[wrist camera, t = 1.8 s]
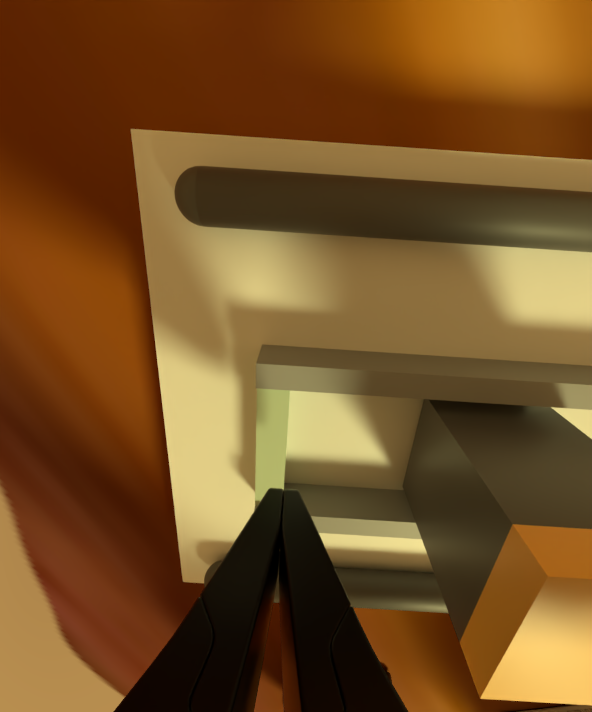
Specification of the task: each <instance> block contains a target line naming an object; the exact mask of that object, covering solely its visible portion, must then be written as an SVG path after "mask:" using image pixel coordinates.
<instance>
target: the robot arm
mask: <svg viewBox="0 0 592 712" xmlns="http://www.w3.org/2000/svg"><path fill="white" fill-rule="evenodd" d="M283 496H284V497H283ZM279 556H280V558H279ZM278 569H279V607H280V632H281V656H282V681H283V705H284V712H408V710H407V709H406V707H405V705H404V703H403V702H402V700H401V698H400V697H399V695H398V693H397V691H396V690H395V688H394V686H393V685H392V680H391V675H390V673H389V672H386V671H384V669H383V667H382V665H381V663H380V662H379V660H378V658H377V656H376V654H375V652H374V651H373V649H372V647H371V645H370V643H369V641H368V639H367V637H366V635H365V633H364V630H363V628H362V626H361V624H360V622H359V620H358V618H357V616H356V613H355V611H354V609H353V607H350V606H351V603H350V601H349V598H348V596H347V594H346V592H345V590H344V588H343V585H342V583H341V581H340V579H339V577H338V574H337V572H336V570H335V568H334V566H333V563H332V561H331V559H330V557H329V555H328V552H327V550H326V548H325V546H324V544H323V541H322V539H321V537H320V535H319V533H318V530H317V528H316V526H315V524H314V522H313V520H312V517H311V515H310V513H309V511H308V509H307V506H306V504H305V502H304V500H303V498H302V495H301V493H300V491H299V490H297V489H285V490H283V489H281V488H269V489H268V490H267V492H266V493H265V495H264V497H263V498H262V500H261V501H260V503H259V504H258V506H257V507H256V509H255V510H254V512H253V514H252V515H251V517H250V518H249V520H248V521H247V523H246V524H245V526H244V528H243V529H242V531H241V532H240V534H239V535H238V537H237V538H236V540H235V542H234V543H233V545H232V546H231V548H230V549H229V551H228V552H227V554H226V556H225V557H224V559H223V560H222V562H221V563H220V565H219V566H218V568H217V569H216V571H215V573H214V574H213V576H212V577H211V579H210V580H209V582H208V583H207V585H206V587H205V588H204V590H203V591H202V593H201V595H200V597H199V598H198V599H197V600H196V602H195V603H194V605H193V606H192V608H191V610H190V611H189V613H188V614H187V616H186V617H185V619H184V620H183V622H182V623H181V624H180V626H179V627H178V629H177V630H176V632H175V633H174V635H173V636H172V638H171V639H170V640H169V641H168V643H167V644H166V645H165V647H164V648H163V649H162V651H161V652H160V653H159V655H158V656H157V657H156V659H155V660H154V661H153V663H152V664H151V665H150V666H149V668H148V669H147V670H146V671H145V673H144V674H143V675H142V677H141V678H140V679H139V680H138V682H137V683H136V684H135V685H134V687H133V688H132V689H131V690H130V692H129V693H128V694H127V695H126V697H125V698H124V699H123V700H122V702H121V703H120V704H119V706H118V707H117V708H116V709H115V711H114V712H254V708H255V702H256V696H257V691H258V685H259V680H260V674H261V669H262V663H263V658H264V652H265V646H266V641H267V635H268V630H269V624H270V619H271V613H272V608H273V602H274V596H275V591H276V585H277V579H278Z"/></svg>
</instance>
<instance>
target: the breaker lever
mask: <svg viewBox="0 0 592 712" xmlns="http://www.w3.org/2000/svg"><path fill="white" fill-rule="evenodd" d="M402 486H403V489H404V492H405V495H406V497H407V500H408V503H409V506H410V508H411V511H412V514H413V517H414V519H415V522H416V525H417V527H418V530H419V533H420V536H421V538H422V541H423V544H424V547H425V549H426V552H427V555H428V558H429V560H430V563H431V566H432V569H433V571H434V574H435V577H436V580H437V582H438V585H439V588H440V591H441V593H442V596H443V599H444V602H445V604H446V607H447V610H448V613H449V615H450V618H451V621H452V624H453V626H454V629H455V632H456V634H457V637H458V640H459V643H460V645H461V648H462V651H463V654H464V656H465V659H466V662H467V665H468V667H469V670H470V673H471V676H472V678H473V681H474V684H475V687H476V689H477V692H478V695H479V698H480V699H493V700H510V701H527V702H543V703H560V704H576V705H592V439H591V438H590V437H588V436H587V435H586V434H584V433H583V432H582V431H581V430H579V429H578V428H577V427H575V426H574V425H573V424H572V423H570V422H569V421H568V420H566V419H565V418H564V417H563V416H561V415H560V414H559V413H557V412H556V411H555V410H554V409H552V408H551V407H538V406H523V405H507V404H492V403H476V402H461V401H445V400H430V399H424V401H423V405H422V409H421V413H420V417H419V421H418V425H417V429H416V433H415V437H414V441H413V445H412V449H411V453H410V457H409V461H408V465H407V469H406V473H405V477H404V481H403V485H402Z"/></svg>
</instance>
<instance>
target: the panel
mask: <svg viewBox="0 0 592 712" xmlns="http://www.w3.org/2000/svg"><path fill="white" fill-rule="evenodd" d="M131 137H132V146H133V155H134V163H135V172H136V181H137V189H138V198H139V207H140V215H141V224H142V233H143V241H144V250H145V259H146V267H147V276H148V285H149V293H150V302H151V311H152V319H153V328H154V337H155V345H156V354H157V363H158V371H159V380H160V389H161V397H162V406H163V415H164V423H165V432H166V441H167V449H168V458H169V467H170V475H171V484H172V493H173V501H174V510H175V519H176V527H177V536H178V545H179V553H180V562H181V571H182V579H183V582H191V583H204V586H205V587H206V585H207V583H208V582H209V580H210V579H211V577H212V576H213V574H214V573H215V571H216V569H217V568H218V566H219V565H220V563H221V562H222V560H223V559H224V557H225V556H226V554H227V552H228V551H229V549H230V548H231V546H232V545H233V543H234V542H235V540H236V538H237V537H238V535H239V534H240V532H241V531H242V529H243V528H244V526H245V524H246V523H247V521H248V520H249V518H250V517H251V515H252V514H253V512H254V510H255V509H256V507H257V506H258V504H259V503H260V501H261V500H262V498H263V497H264V495H265V493H266V492H267V490H268V489H269V488H281V489H283V490H285V489H297V490H299V491H300V493H301V495H302V498H303V500H304V502H305V504H306V506H307V509H308V511H309V513H310V515H311V517H312V520H313V522H314V524H315V526H316V528H317V530H318V533H319V535H320V537H321V539H322V541H323V544H324V546H325V548H326V550H327V552H328V555H329V557H330V559H331V561H332V563H333V566H334V568H335V570H336V572H337V574H338V577H339V579H340V581H341V583H342V585H343V588H344V590H345V592H346V594H347V596H348V598H349V601H350V603H351V606H350V607H355V608H372V609H388V610H404V611H421V612H437V613H448V610H447V607H446V604H445V602H444V599H443V596H442V593H441V591H440V588H439V585H438V582H437V580H436V577H435V574H434V571H433V569H432V566H431V563H430V560H429V558H428V555H427V552H426V549H425V547H424V544H423V541H422V538H421V536H420V533H419V530H418V527H417V525H416V522H415V519H414V517H413V514H412V511H411V508H410V506H409V503H408V500H407V497H406V495H405V492H404V489H403V486H402V485H403V481H404V477H405V473H406V469H407V465H408V461H409V457H410V453H411V449H412V445H413V441H414V437H415V433H416V429H417V425H418V421H419V417H420V413H421V409H422V405H423V401H424V399H430V400H445V401H461V402H476V403H492V404H507V405H523V406H538V407H551V408H552V409H554V410H555V411H556V412H557V413H559V414H560V415H561V416H563V417H564V418H565V419H566V420H568V421H569V422H570V423H572V424H573V425H574V426H575V427H577V428H578V429H579V430H581V431H582V432H583V433H584V434H586V435H587V436H588V437H590V438H591V439H592V160H585V159H570V158H555V157H540V156H526V155H511V154H496V153H481V152H466V151H452V150H437V149H422V148H407V147H393V146H378V145H363V144H348V143H334V142H319V141H304V140H289V139H274V138H260V137H245V136H230V135H215V134H201V133H186V132H171V131H156V130H142V129H131ZM283 497H284V496H283ZM279 558H280V556H279ZM274 603H279V569H278V579H277V585H276V591H275V596H274Z"/></svg>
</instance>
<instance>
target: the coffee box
mask: <svg viewBox="0 0 592 712" xmlns="http://www.w3.org/2000/svg"><path fill="white" fill-rule="evenodd" d="M518 712H592V705H572V706H563V707H554V708H545V709H536V710H527V711H518Z"/></svg>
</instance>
